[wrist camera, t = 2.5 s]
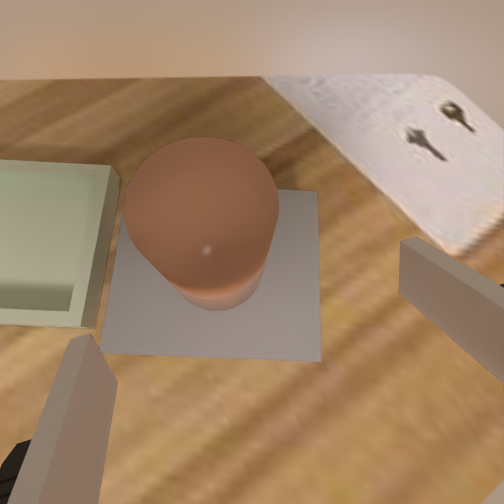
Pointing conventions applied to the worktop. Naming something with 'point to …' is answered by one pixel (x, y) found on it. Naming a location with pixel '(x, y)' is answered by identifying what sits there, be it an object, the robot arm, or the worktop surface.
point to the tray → (54, 241)
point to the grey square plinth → (231, 320)
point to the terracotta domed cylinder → (204, 218)
